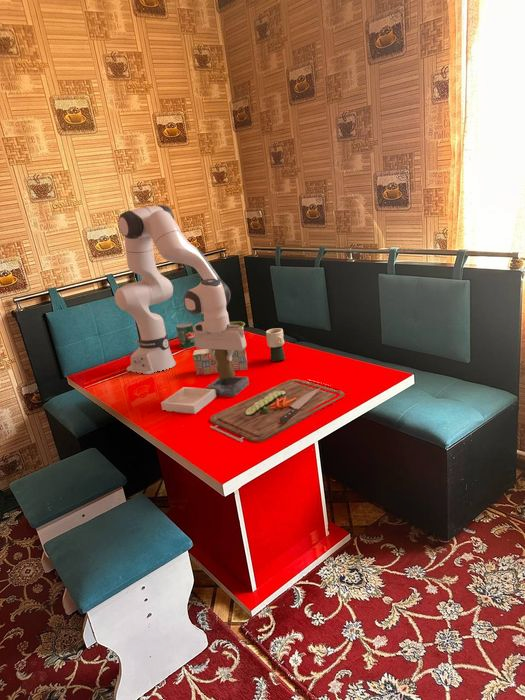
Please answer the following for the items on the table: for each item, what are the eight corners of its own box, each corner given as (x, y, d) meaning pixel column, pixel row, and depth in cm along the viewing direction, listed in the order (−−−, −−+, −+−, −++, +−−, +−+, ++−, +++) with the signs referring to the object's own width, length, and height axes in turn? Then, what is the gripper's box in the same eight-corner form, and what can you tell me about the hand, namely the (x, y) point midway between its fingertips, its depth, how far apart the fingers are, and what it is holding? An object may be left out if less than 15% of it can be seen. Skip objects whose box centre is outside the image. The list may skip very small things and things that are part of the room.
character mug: (291, 360, 211) (288, 331, 207) (276, 365, 208) (272, 335, 204) (279, 354, 220) (275, 326, 216) (264, 359, 217) (260, 330, 213)
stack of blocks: (196, 376, 209) (191, 347, 205) (198, 370, 215) (193, 343, 211) (247, 369, 208) (243, 341, 205) (248, 364, 214) (243, 336, 211)
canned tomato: (194, 347, 248) (191, 326, 244) (179, 349, 248) (174, 328, 244) (196, 342, 255) (192, 321, 252) (181, 344, 255) (177, 323, 252)
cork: (237, 371, 190) (230, 344, 187) (231, 378, 185) (224, 349, 182) (222, 373, 192) (216, 346, 189) (216, 379, 187) (209, 351, 184)
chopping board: (298, 378, 192) (297, 371, 191) (353, 394, 172) (353, 386, 171) (200, 424, 166) (199, 416, 165) (252, 449, 146) (251, 439, 145)
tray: (162, 410, 180) (160, 402, 179) (185, 394, 191) (183, 387, 190) (195, 413, 173) (193, 405, 172) (216, 396, 185) (215, 389, 184)
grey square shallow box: (207, 394, 188) (205, 387, 187) (222, 382, 198) (221, 375, 197) (234, 396, 183) (232, 389, 182) (249, 384, 192) (247, 376, 191)
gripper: (246, 322, 180) (251, 358, 185) (198, 321, 190) (204, 355, 194) (238, 327, 175) (243, 364, 180) (189, 326, 184) (195, 361, 189)
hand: (222, 360), depth 187 cm, fingers closed on cork, 4 cm apart
